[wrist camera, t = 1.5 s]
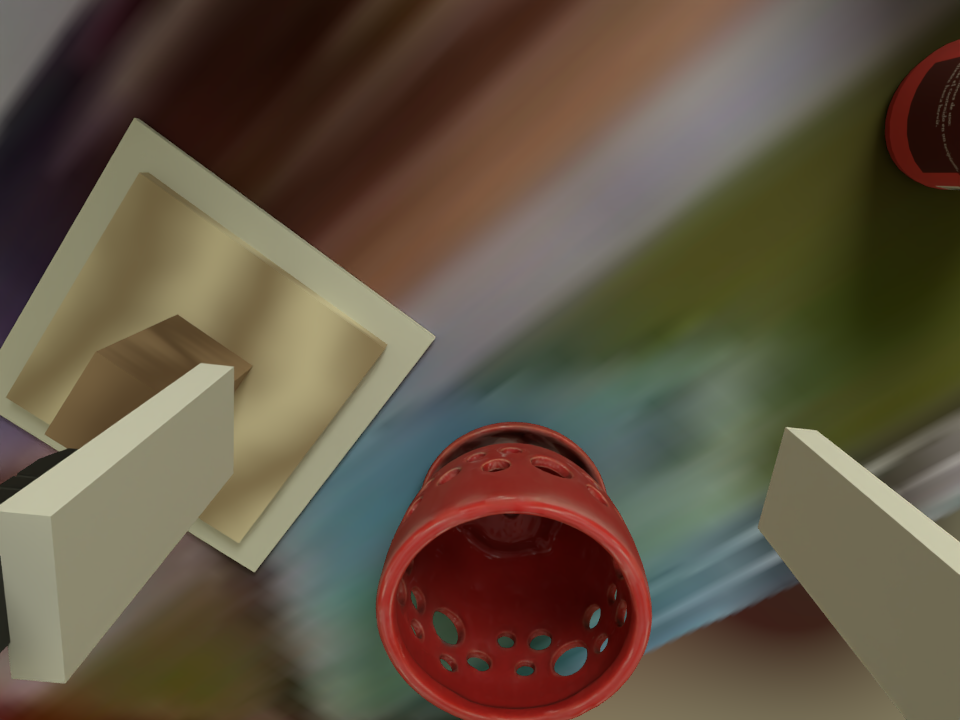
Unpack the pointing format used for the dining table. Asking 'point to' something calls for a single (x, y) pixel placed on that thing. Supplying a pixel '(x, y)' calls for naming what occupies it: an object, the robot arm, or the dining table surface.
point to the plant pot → (513, 579)
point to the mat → (280, 246)
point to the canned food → (928, 121)
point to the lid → (195, 344)
